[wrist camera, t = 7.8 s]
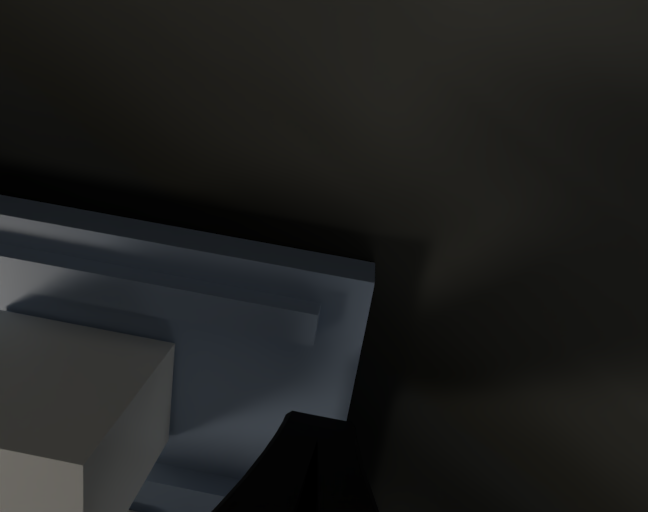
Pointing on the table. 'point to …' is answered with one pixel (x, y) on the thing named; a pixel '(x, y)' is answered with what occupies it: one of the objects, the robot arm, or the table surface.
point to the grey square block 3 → (79, 414)
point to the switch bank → (198, 328)
